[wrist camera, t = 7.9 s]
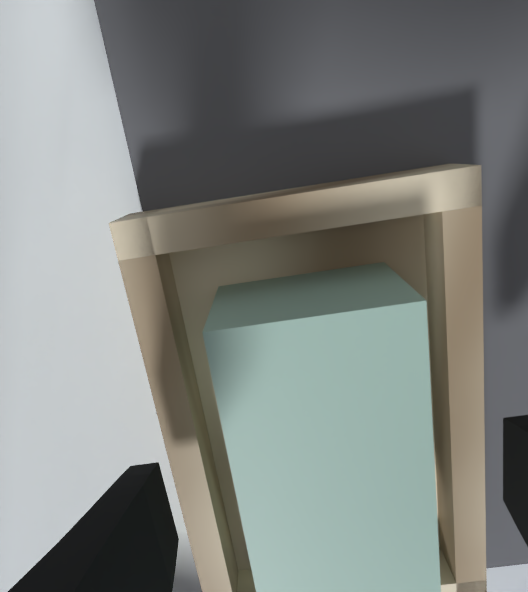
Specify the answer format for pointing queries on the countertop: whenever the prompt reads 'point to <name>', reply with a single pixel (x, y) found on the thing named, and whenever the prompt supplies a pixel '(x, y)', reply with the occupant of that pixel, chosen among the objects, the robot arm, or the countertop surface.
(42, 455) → the countertop surface
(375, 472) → the block
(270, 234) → the tray
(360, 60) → the mat
